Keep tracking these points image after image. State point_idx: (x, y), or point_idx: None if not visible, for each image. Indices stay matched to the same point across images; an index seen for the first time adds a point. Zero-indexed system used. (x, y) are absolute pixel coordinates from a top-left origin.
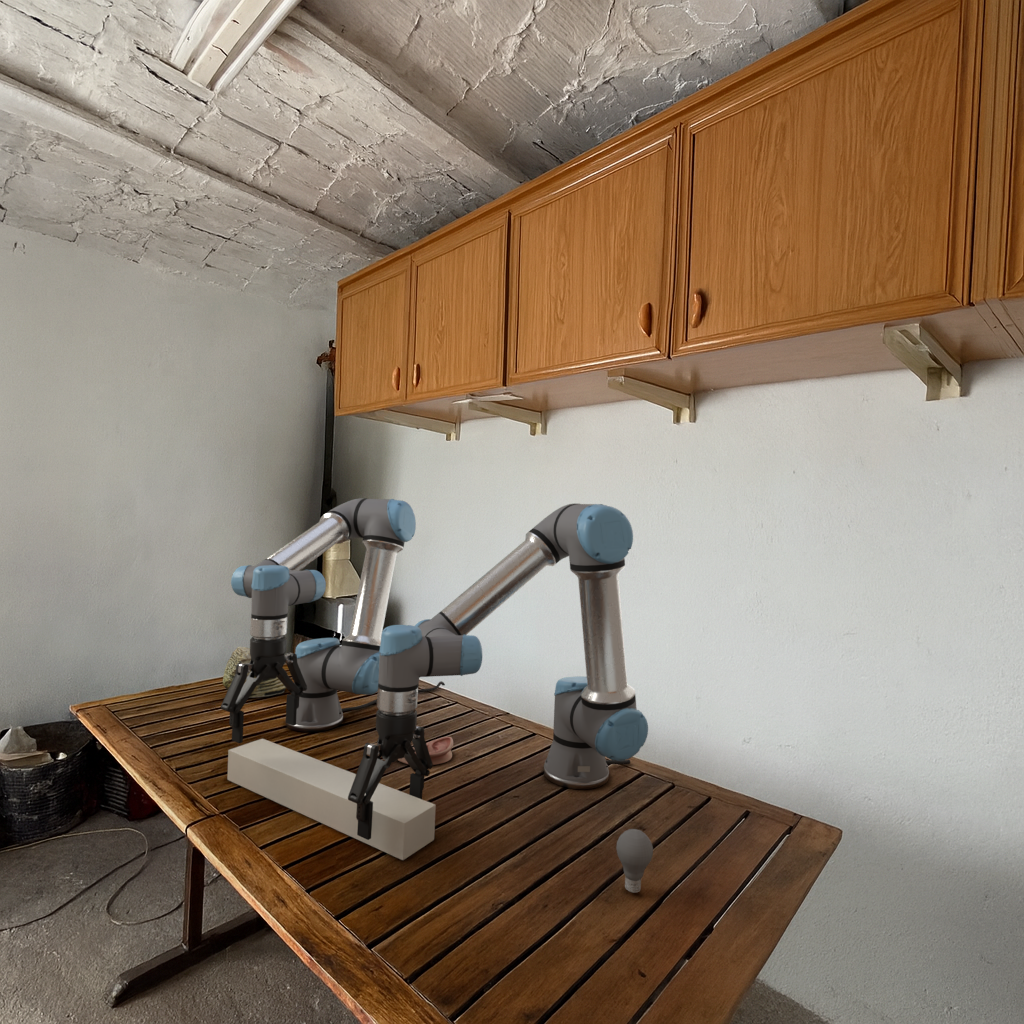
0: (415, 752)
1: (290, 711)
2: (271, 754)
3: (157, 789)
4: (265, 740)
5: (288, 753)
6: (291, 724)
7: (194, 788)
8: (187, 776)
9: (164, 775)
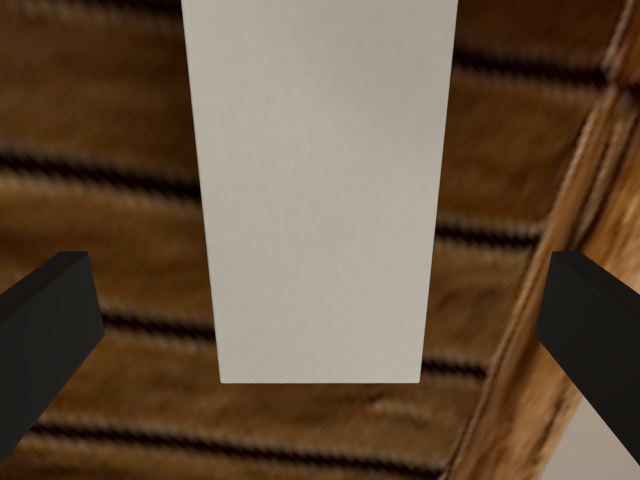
0: None
1: (33, 350)
2: (322, 173)
3: (567, 404)
4: (226, 352)
5: (245, 103)
6: (90, 274)
7: (503, 330)
8: (452, 417)
9: (486, 466)
